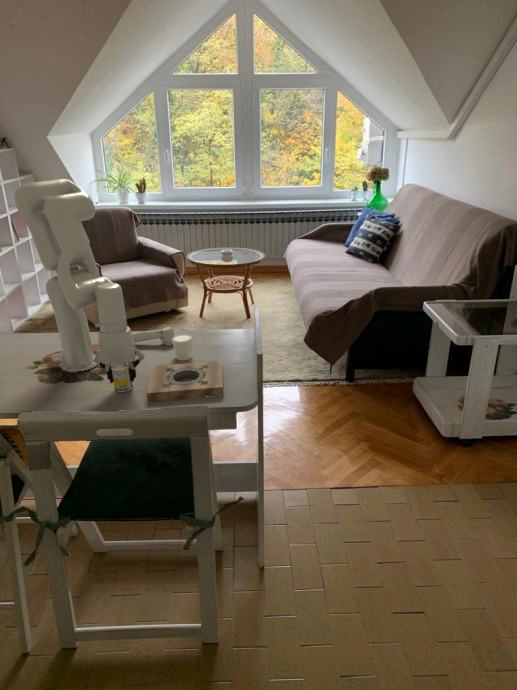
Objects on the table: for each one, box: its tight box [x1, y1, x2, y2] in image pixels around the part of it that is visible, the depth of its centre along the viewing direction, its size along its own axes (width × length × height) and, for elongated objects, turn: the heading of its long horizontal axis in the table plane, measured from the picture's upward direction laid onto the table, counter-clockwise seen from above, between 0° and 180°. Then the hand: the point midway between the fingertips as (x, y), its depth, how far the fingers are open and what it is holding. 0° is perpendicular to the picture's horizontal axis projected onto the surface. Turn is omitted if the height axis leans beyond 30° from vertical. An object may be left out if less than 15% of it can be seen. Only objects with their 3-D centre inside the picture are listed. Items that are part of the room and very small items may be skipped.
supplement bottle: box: [111, 363, 134, 393], centre depth 166 cm, size 6×6×10 cm
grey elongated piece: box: [132, 326, 179, 347], centre depth 199 cm, size 5×7×25 cm
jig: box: [146, 360, 224, 403], centre depth 168 cm, size 22×18×3 cm
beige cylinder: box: [172, 333, 193, 361], centre depth 187 cm, size 7×7×7 cm
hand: (122, 379), depth 167 cm, fingers closed on supplement bottle, 5 cm apart
